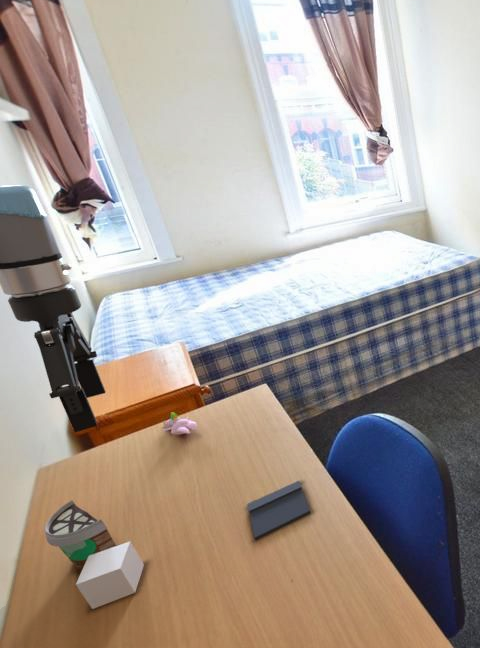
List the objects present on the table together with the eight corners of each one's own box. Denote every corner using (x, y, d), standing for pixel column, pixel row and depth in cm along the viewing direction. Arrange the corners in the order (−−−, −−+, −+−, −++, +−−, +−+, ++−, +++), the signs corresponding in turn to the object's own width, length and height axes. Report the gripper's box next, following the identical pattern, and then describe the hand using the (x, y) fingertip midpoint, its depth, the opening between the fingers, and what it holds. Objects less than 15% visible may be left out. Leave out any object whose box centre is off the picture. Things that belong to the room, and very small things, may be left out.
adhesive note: (135, 592, 79) (120, 568, 77) (92, 609, 77) (75, 584, 75) (144, 564, 84) (130, 540, 82) (104, 579, 82) (88, 555, 80)
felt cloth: (255, 540, 87) (253, 535, 87) (248, 507, 95) (247, 503, 94) (310, 512, 92) (309, 508, 92) (300, 483, 100) (298, 479, 99)
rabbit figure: (160, 435, 123) (182, 444, 114) (149, 415, 122) (171, 424, 113) (185, 421, 128) (208, 430, 119) (175, 403, 126) (198, 410, 117)
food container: (55, 563, 86) (28, 523, 82) (94, 537, 91) (70, 498, 87) (86, 588, 81) (59, 547, 77) (126, 559, 86) (102, 519, 82)
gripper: (59, 303, 64) (114, 435, 71) (83, 270, 83) (123, 376, 90) (-19, 317, 60) (47, 455, 67) (25, 279, 79) (72, 390, 86)
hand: (91, 410), depth 78 cm, fingers open, 13 cm apart
